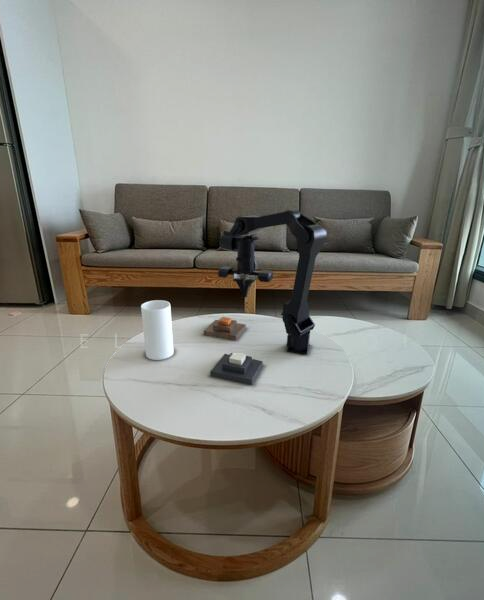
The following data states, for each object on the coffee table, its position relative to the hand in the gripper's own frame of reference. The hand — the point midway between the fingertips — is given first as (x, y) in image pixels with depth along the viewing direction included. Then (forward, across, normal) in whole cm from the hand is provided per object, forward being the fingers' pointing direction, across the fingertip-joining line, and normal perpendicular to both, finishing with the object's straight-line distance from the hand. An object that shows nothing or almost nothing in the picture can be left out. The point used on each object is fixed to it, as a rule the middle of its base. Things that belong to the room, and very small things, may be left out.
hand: (245, 296), depth 115 cm
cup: (+12, +19, +27) cm, 35 cm away
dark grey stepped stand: (+12, -7, +29) cm, 32 cm away
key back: (+9, +5, +6) cm, 12 cm away
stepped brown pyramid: (+12, +5, +6) cm, 14 cm away
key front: (+9, -7, +29) cm, 31 cm away
